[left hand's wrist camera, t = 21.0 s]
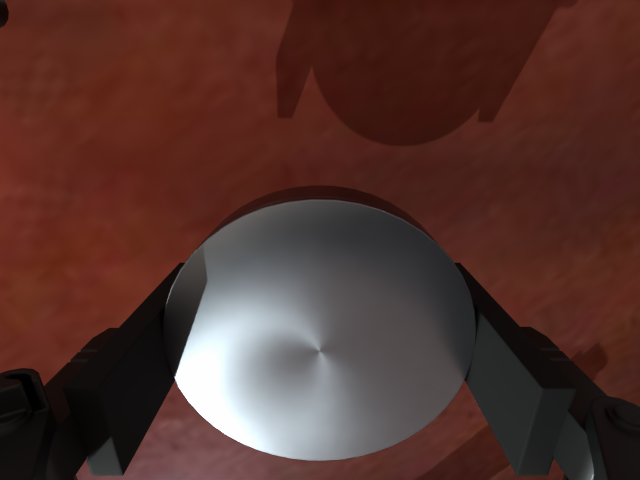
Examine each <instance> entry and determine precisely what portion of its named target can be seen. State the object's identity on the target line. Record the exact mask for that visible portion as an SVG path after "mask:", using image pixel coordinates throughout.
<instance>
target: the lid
mask: <svg viewBox="0 0 640 480" xmlns="http://www.w3.org/2000/svg"><path fill="white" fill-rule="evenodd" d="M163 338H164V344H165V349H166V355H167V359H168V364H169V367H170V370H171V373H172V375H173V377H174V379H175V381H176V383H177V385H178V387H179V389H180V390H181V391H182V393H183V394H184V396H185V397H186V399H187V400H188V402H189V403H190V404H191V405H192V406H193V407H194V408H195V410H196V411H197V412H198V413H199V414H200V415H201V416H202V417H203V418H205V419H206V420H207V421H208V422H209V423H210V424H211V425H213V426H214V427H215V428H217V429H218V430H220V431H221V432H223V433H224V434H226V435H227V436H229V437H231V438H233V439H234V440H236V441H238V442H240V443H242V444H244V445H247V446H249V447H251V448H254V449H256V450H259V451H262V452H266V453H269V454H272V455H276V456H281V457H286V458H291V459H300V460H319V461H327V460H340V459H347V458H353V457H359V456H363V455H367V454H370V453H374V452H377V451H380V450H383V449H385V448H388V447H390V446H393V445H395V444H397V443H399V442H401V441H403V440H405V439H407V438H409V437H410V436H412V435H413V434H415V433H417V432H418V431H420V430H421V429H423V428H424V427H425V426H426V425H428V424H429V423H430V422H431V421H432V420H434V419H435V418H436V417H437V416H438V415H439V414H440V413H441V412H442V411H443V410H444V409H445V408H446V407H447V406H448V404H449V403H450V402H451V400H452V399H453V398H454V396H455V395H456V394H457V392H458V390H459V389H460V387H461V385H462V383H463V381H464V380H465V378H466V375H467V373H468V370H469V368H470V365H471V362H472V357H473V352H474V347H475V342H476V319H475V310H474V306H473V302H472V298H471V294H470V291H469V289H468V287H467V285H466V282H465V280H464V278H463V276H462V274H461V273H460V271H459V270H458V268H457V266H456V265H455V263H454V262H453V260H452V259H451V258H450V257H449V255H448V254H447V253H446V252H445V251H444V250H443V249H442V248H441V247H440V245H439V244H438V243H437V242H436V241H435V240H434V239H433V238H432V237H431V236H430V234H429V233H428V232H427V231H426V230H425V229H424V228H423V227H422V226H421V225H420V224H419V223H418V222H417V221H416V220H415V219H413V218H412V217H411V216H410V215H409V214H407V213H406V212H405V211H403V210H401V209H400V208H398V207H396V206H395V205H393V204H392V203H390V202H388V201H386V200H383V199H381V198H379V197H377V196H374V195H372V194H368V193H365V192H362V191H358V190H355V189H350V188H343V187H337V186H304V187H295V188H290V189H285V190H281V191H277V192H273V193H271V194H268V195H266V196H263V197H260V198H258V199H255V200H253V201H252V202H250V203H248V204H246V205H244V206H243V207H241V208H239V209H238V210H236V211H235V212H234V213H232V214H231V215H230V216H228V217H227V218H226V219H224V220H223V221H222V222H221V223H220V224H219V225H218V226H217V227H216V228H215V229H214V230H213V231H212V232H211V233H210V234H209V235H208V237H207V238H206V239H205V240H204V241H203V242H202V243H201V244H200V245H199V246H198V247H197V249H196V250H195V251H194V252H193V253H192V254H191V255H190V257H189V258H188V260H187V261H186V262H185V264H184V265H183V266H182V268H181V269H180V271H179V273H178V275H177V277H176V279H175V281H174V283H173V285H172V287H171V290H170V293H169V296H168V299H167V302H166V306H165V313H164V319H163Z"/></svg>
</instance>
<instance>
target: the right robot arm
mask: <svg viewBox="0 0 640 480" xmlns="http://www.w3.org/2000/svg"><path fill="white" fill-rule="evenodd" d="M7 20H8V8H7V5H6V3H5V1H4V0H0V28H1V27H2V26H4V25H5V24H6V22H7Z"/></svg>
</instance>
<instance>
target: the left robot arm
mask: <svg viewBox="0 0 640 480" xmlns="http://www.w3.org/2000/svg"><path fill="white" fill-rule="evenodd" d="M184 264H185V263H179V264H178V266H177V267H176V268H175V269H174V270H173V271H172V272H171V273H170V274H169V275H168V276H167V277H166V278H165V279H164V280H163V281H162V283H161V284H160V285H159V286H158V287H157V288H156V289H155V290H154V291H153V292H152V293H151V294H150V295H149V296H148V297H147V299H146V300H145V301H144V302H143V303H142V304H141V305H140V306H139V307H138V308H137V309H136V310H135V311H134V312H133V313H132V314H131V316H130V317H129V318H128V319H127V320H126V321H125V322H124V323H123V324H122V325H121V326H120V327H119V328H109V329H107V330H105V331H104V332H102V333H100V334H99V335H97V336H95V337H94V338H92V339H91V340H90V341H89V342H88V343H87V344H86V345H85V346H84V347H83V348H82V349H81V352H78V353H77V354H76V355H75V356H74V357H73V358H72V359H71V362H68V363H67V364H66V365H65V366H64V367H63V368H62V369H61V370H60V371H59V372H58V373H57V374H56V375H55V376H54V377H53V378H52V379H51V380H50V381H49V382H48V383H47V384H46V385H45V386H43V383H42V381H41V378H40V375H39V373H38V372H37V371H35V370H34V369H26V368H21V369H15V370H9V371H6V372H3V373H0V480H77V477H76V473H77V472H78V470H79V469H80V467H81V466H82V465H83V463H84V462H85V460H86V459H87V462H88V465H89V468H90V471H91V474H92V476H123V475H124V473H125V471H126V469H127V467H128V466H129V464H130V462H131V460H132V458H133V456H134V454H135V453H136V451H137V449H138V447H139V445H140V443H141V442H142V440H143V438H144V436H145V434H146V432H147V431H148V429H149V427H150V425H151V423H152V421H153V420H154V418H155V416H156V414H157V412H158V410H159V409H160V407H161V405H162V403H163V401H164V399H165V398H166V396H167V394H168V392H169V390H170V388H171V386H172V385H173V383H174V381H175V379H174V377H173V375H172V373H171V370H170V367H169V364H168V359H167V355H166V349H165V344H164V338H163V319H164V313H165V306H166V302H167V299H168V296H169V293H170V290H171V287H172V285H173V283H174V281H175V279H176V277H177V275H178V273H179V271H180V269H181V268H182V266H183V265H184ZM455 265H456V266H457V268H458V270H459V271H460V273H461V274H462V276H463V278H464V280H465V282H466V285H467V287H468V289H469V291H470V294H471V298H472V302H473V306H474V310H475V319H476V342H475V347H474V352H473V357H472V362H471V365H470V368H469V370H468V373H467V375H466V378H465V381H466V383H467V385H468V387H469V389H470V391H471V392H472V394H473V396H474V398H475V400H476V402H477V403H478V405H479V407H480V409H481V411H482V413H483V414H484V416H485V418H486V420H487V422H488V424H489V425H490V427H491V429H492V431H493V433H494V435H495V436H496V438H497V440H498V442H499V444H500V446H501V448H502V449H503V451H504V453H505V455H506V457H507V459H508V460H509V462H510V464H511V466H512V468H513V470H514V471H515V473H516V475H548V473H549V470H550V467H551V464H552V461H553V458H554V459H555V460H556V462H557V463H558V464H559V466H560V467H561V469H562V470H563V472H564V473H565V474H564V477H563V480H640V407H639V406H637V405H635V404H633V403H630V402H628V401H625V400H622V399H619V398H614V397H609V396H607V395H606V394H605V393H604V392H603V391H602V390H601V389H600V388H599V387H598V386H597V385H596V384H595V383H594V382H593V381H592V380H591V379H590V378H589V377H588V376H587V375H586V374H585V373H583V372H582V371H581V370H580V369H579V368H578V367H577V366H576V365H575V364H574V363H573V362H572V361H570V360H569V358H568V357H567V356H566V355H565V354H564V353H563V352H562V351H559V348H558V347H557V346H556V345H555V344H554V343H553V342H552V341H551V340H550V339H549V338H548V337H547V336H545V335H543V334H542V333H540V332H538V331H537V330H535V329H533V328H532V327H520V326H519V325H518V324H517V323H516V322H515V321H514V320H513V319H512V318H511V317H510V316H509V315H508V314H507V313H506V312H505V310H504V309H503V308H502V307H501V306H500V305H499V304H498V303H497V302H496V301H495V300H494V299H493V298H492V297H491V296H490V295H489V293H488V292H487V291H486V290H485V289H484V288H483V287H482V286H481V285H480V284H479V283H478V282H477V281H476V280H475V279H474V277H473V276H472V275H471V274H470V273H469V272H468V271H467V270H466V269H465V268H464V267H463V266H462V265H461V264H460V263H455Z"/></svg>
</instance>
